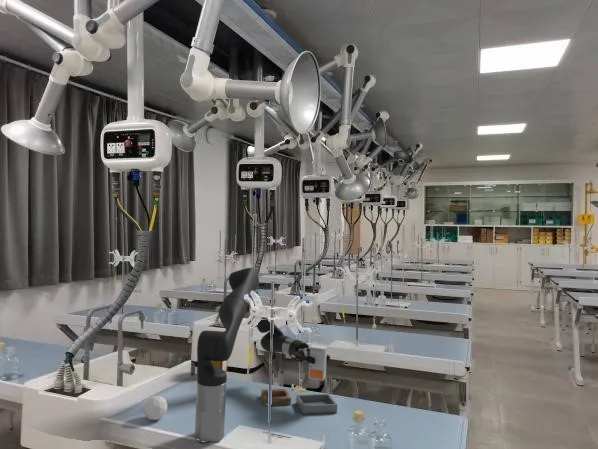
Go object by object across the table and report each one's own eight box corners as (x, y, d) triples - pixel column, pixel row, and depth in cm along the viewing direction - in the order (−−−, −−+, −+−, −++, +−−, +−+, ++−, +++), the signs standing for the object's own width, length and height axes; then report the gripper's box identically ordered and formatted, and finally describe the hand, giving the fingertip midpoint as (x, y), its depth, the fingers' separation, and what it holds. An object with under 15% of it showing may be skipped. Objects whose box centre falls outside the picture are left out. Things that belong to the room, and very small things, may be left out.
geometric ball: (148, 428, 152) (134, 410, 151) (162, 411, 159) (148, 394, 158) (162, 422, 148) (148, 403, 148) (176, 405, 156) (162, 387, 155)
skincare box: (307, 378, 168) (309, 346, 168) (310, 375, 172) (312, 344, 172) (323, 381, 166) (325, 348, 166) (326, 377, 170) (327, 346, 170)
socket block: (290, 404, 171) (290, 398, 171) (264, 405, 169) (265, 399, 169) (285, 395, 180) (286, 388, 180) (261, 396, 178) (261, 389, 178)
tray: (336, 412, 165) (337, 404, 165) (302, 414, 162) (303, 406, 162) (328, 401, 176) (328, 393, 176) (296, 402, 173) (296, 395, 173)
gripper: (281, 341, 176) (307, 352, 163) (309, 337, 185) (336, 347, 172) (280, 360, 176) (306, 373, 163) (308, 355, 185) (335, 367, 172)
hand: (322, 359), depth 167 cm, fingers closed on skincare box, 6 cm apart
